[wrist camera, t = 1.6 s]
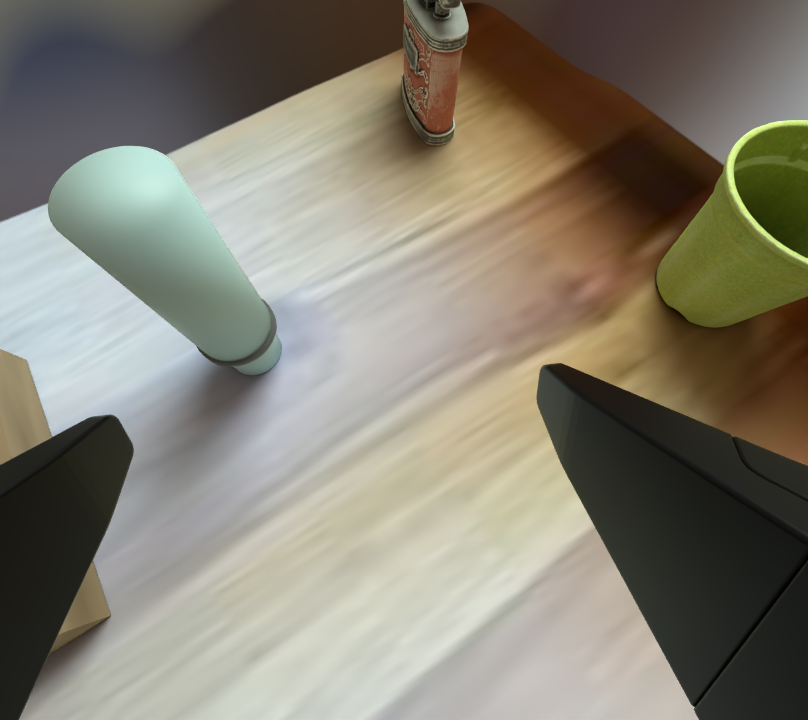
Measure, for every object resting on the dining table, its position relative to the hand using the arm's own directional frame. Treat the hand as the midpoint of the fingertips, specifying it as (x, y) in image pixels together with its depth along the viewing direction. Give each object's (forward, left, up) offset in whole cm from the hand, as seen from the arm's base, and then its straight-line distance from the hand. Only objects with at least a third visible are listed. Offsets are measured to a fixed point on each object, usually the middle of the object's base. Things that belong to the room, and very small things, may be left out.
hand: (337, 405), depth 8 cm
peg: (-2, +10, -14) cm, 18 cm away
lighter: (+19, +22, -15) cm, 32 cm away
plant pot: (+25, -2, -15) cm, 29 cm away
